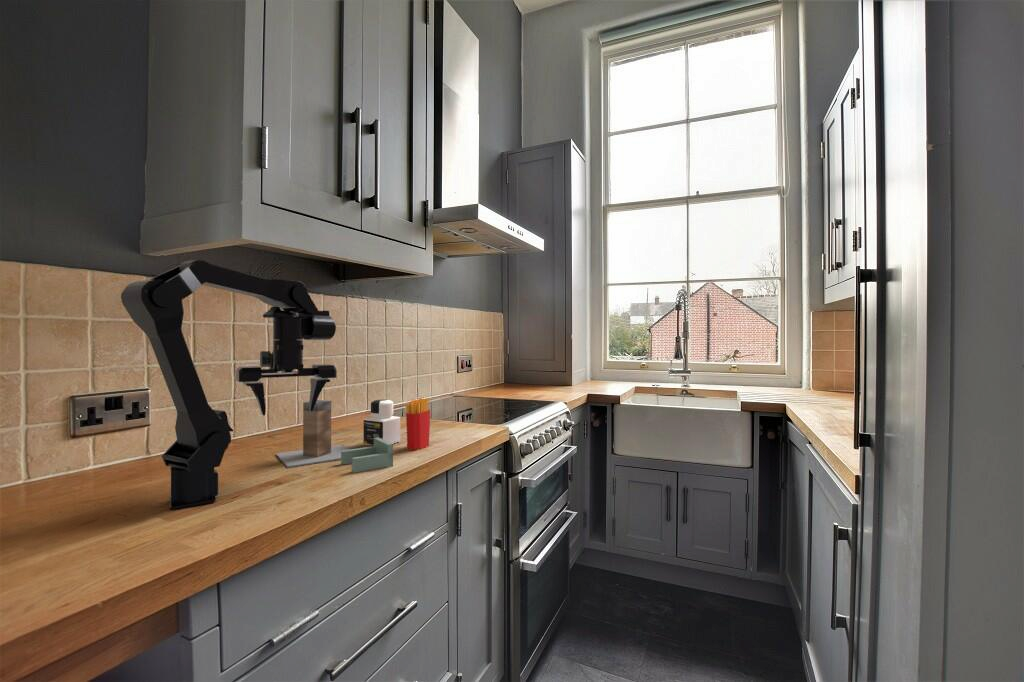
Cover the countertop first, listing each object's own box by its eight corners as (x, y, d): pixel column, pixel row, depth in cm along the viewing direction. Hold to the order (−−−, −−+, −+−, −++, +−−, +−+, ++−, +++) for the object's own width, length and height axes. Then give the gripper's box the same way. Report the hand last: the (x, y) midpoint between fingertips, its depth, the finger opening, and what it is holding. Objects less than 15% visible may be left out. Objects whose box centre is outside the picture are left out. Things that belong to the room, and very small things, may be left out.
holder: (353, 472, 99) (353, 449, 99) (341, 463, 106) (341, 442, 106) (392, 466, 104) (393, 444, 104) (378, 457, 111) (378, 437, 111)
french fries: (420, 442, 128) (420, 396, 128) (433, 444, 126) (433, 397, 126) (401, 450, 119) (401, 400, 119) (415, 451, 117) (415, 401, 117)
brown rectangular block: (317, 457, 110) (317, 403, 110) (303, 455, 112) (303, 402, 112) (331, 453, 114) (331, 400, 114) (317, 451, 116) (317, 400, 116)
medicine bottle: (362, 444, 125) (363, 400, 125) (381, 439, 132) (381, 397, 132) (382, 447, 122) (382, 402, 122) (400, 442, 128) (400, 399, 128)
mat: (287, 467, 102) (287, 466, 102) (275, 455, 114) (275, 453, 114) (359, 457, 112) (359, 455, 112) (341, 446, 123) (341, 444, 123)
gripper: (323, 339, 110) (323, 405, 110) (232, 339, 99) (232, 412, 99) (337, 340, 101) (337, 411, 101) (239, 340, 90) (239, 419, 90)
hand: (287, 413), depth 98 cm, fingers open, 9 cm apart
